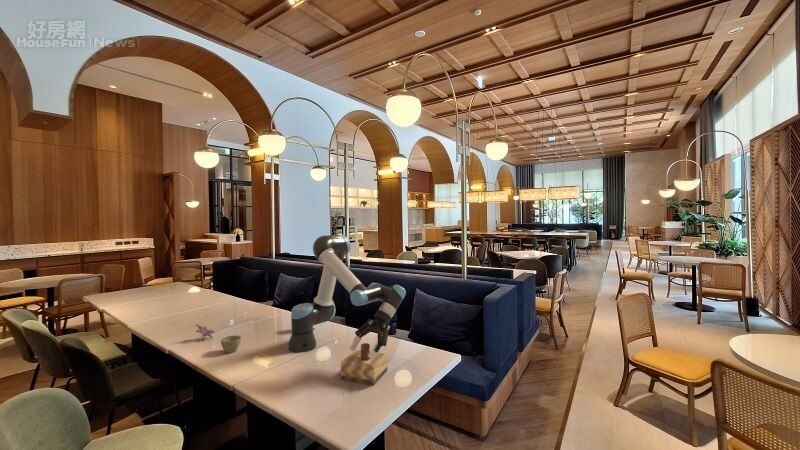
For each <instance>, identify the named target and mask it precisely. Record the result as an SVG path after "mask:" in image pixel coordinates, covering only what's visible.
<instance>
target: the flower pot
mask: <svg viewBox="0 0 800 450" xmlns="http://www.w3.org/2000/svg"><path fill="white" fill-rule="evenodd" d="M241 340H242V336H240V335H235V334H234V335H227V336H224V337H222V338H221V339H220V344H221V347H222V349H223V351H224V352H225V353H226V354H233V353H235V352H236V351H237V350H238V349H239V347H240V344H241Z"/></svg>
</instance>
